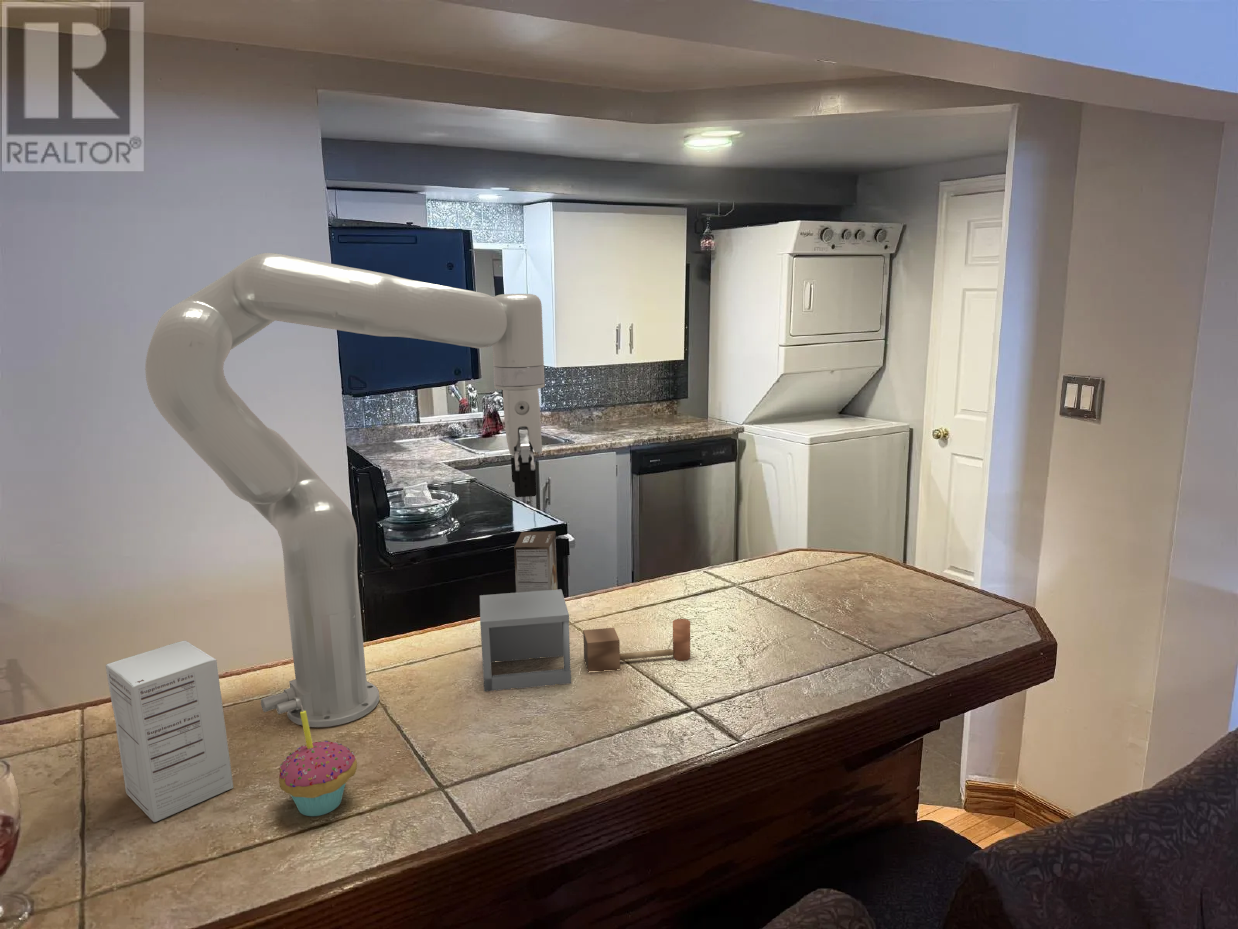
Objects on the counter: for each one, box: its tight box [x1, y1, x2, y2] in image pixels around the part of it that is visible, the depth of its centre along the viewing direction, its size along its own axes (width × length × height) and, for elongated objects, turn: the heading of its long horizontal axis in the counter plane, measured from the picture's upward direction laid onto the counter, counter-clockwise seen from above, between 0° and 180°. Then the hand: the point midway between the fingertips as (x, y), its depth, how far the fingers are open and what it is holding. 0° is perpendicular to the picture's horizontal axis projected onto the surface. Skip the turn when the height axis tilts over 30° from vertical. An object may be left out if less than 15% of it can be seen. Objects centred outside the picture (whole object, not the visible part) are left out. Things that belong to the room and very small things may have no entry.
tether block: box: [582, 618, 691, 672], centre depth 132 cm, size 17×5×6 cm, turn 100°
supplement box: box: [105, 640, 234, 823], centre depth 98 cm, size 10×9×17 cm
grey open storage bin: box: [479, 588, 572, 692], centre depth 129 cm, size 13×11×11 cm
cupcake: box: [278, 705, 358, 817], centre depth 96 cm, size 9×8×12 cm
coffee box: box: [513, 530, 558, 593], centre depth 146 cm, size 9×6×16 cm
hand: (523, 488), depth 128 cm, fingers open, 9 cm apart
